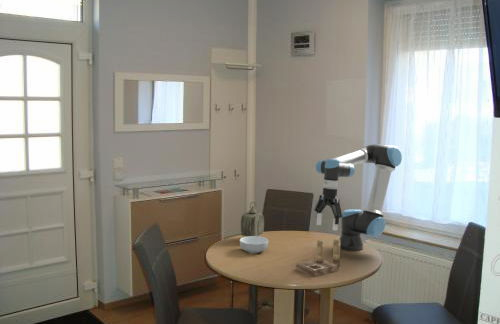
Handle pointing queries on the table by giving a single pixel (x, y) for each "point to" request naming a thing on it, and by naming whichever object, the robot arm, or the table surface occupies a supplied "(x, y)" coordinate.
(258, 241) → the cereal bowl
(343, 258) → the table surface
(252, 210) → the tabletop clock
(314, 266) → the wooden base block
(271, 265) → the table surface
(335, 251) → the leg peg
